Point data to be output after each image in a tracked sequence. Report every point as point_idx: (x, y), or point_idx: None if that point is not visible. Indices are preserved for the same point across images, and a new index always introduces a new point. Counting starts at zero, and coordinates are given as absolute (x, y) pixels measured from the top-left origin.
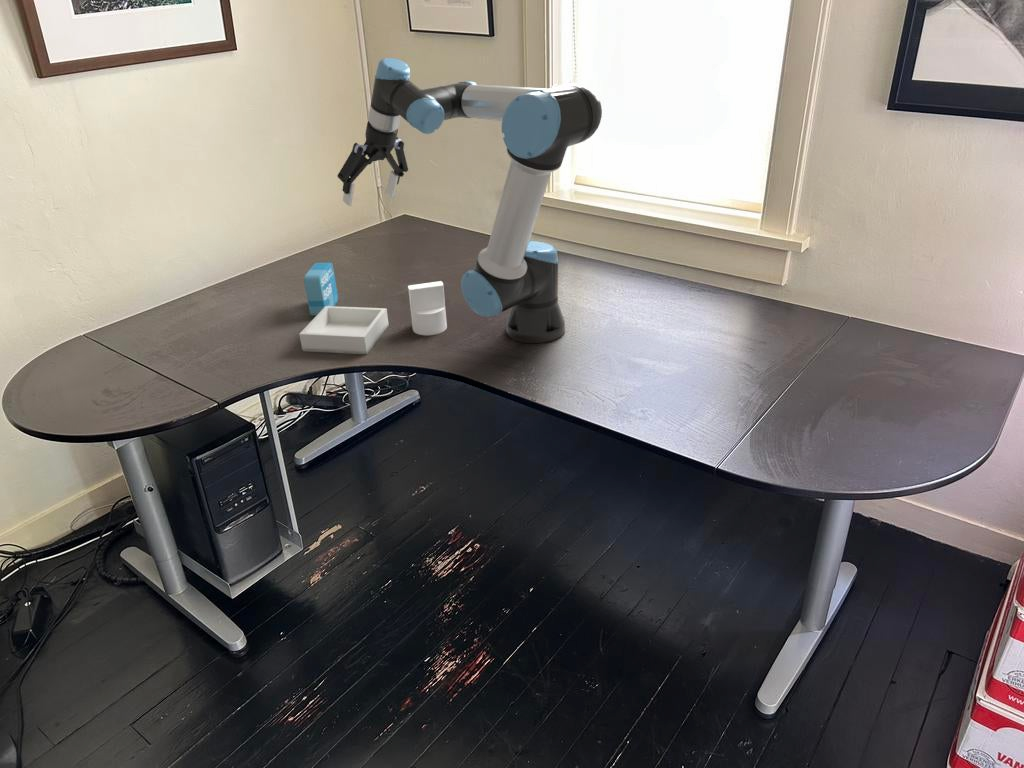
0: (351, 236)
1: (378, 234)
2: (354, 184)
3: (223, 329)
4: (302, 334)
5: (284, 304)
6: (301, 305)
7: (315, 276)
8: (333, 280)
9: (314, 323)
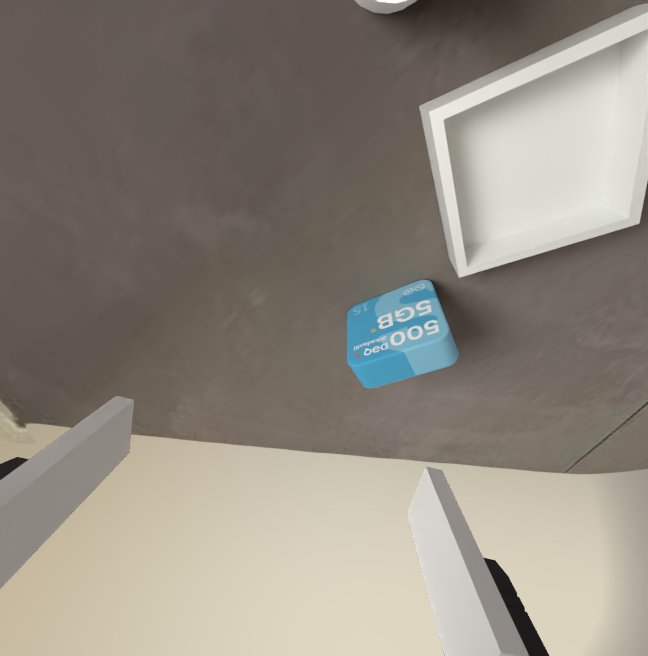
0: (142, 434)
1: None
2: (502, 645)
3: (519, 380)
4: (640, 215)
5: None
6: None
7: (447, 345)
8: (358, 335)
9: (557, 238)
